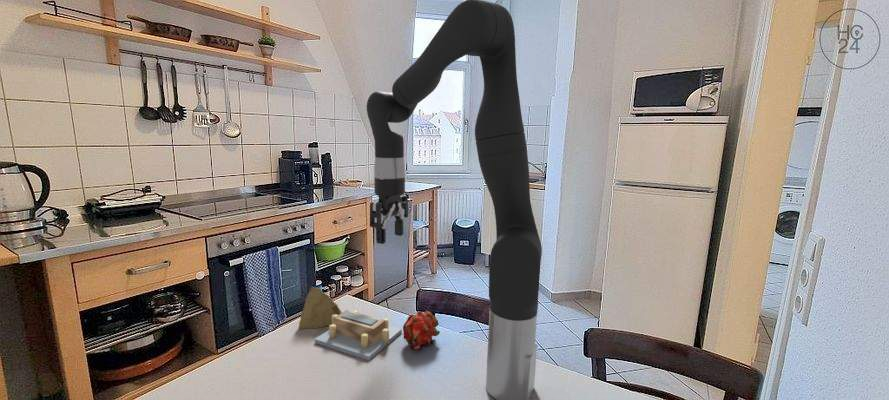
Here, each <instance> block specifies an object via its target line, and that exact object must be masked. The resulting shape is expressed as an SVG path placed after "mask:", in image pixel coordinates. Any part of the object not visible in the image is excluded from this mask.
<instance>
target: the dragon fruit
mask: <svg viewBox="0 0 889 400" xmlns="http://www.w3.org/2000/svg"><path fill="white" fill-rule="evenodd" d="M438 326H439V321H438V319H437V317H436V316H435V315H434V314H432V312H431V311H428V310H426V311H424V312H422V311H419V310H417V312H416V314H414V315H413V314H410V315H408V317H407V318H406V321H405V323H404V324H403V326H402V331H403V340H405V341H406V343H407V344H408V345H409V347H410V351H413V349H414V350H420V349H422V348H423V347H424V346H423V345H426V346H427V347H429V346H433V345H434V344H435V343H436V341H437V340H436V339H435V338H434V339H433V337H437V336H439V335H440V333H441V332H440V330H438V329H437V327H438Z"/></svg>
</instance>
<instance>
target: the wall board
mask: <svg viewBox="0 0 889 400" xmlns="http://www.w3.org/2000/svg"><path fill="white" fill-rule="evenodd" d="M352 311H353V312H356V313H359V311H358V310H356V309H355V310H352ZM336 316H338V315H337V314H335V315H332V324H331V325H328V330H327V331H325V332H323V333H322V334H320V335H319V336H317V337H316V338H315V339H314V343H315V344H317V345H321V346H324V347H326V348H329V349H333V350H336V351H339V352H342V353H345V354H348V355H350V356H354V357H357V358H359V359H363V360H366V361H370V360H372V358H374V357H375V356H376V355H378V353H380V352H381V351H382V350H383V349H384V348H386V347H387V346H389V344H390V343H391V342H392V341H394V340H395V339H396V338H397V337H398V336H399V335H401V334H402V331H403V328H399V327H394V326H392V325H389V318H386V317H385V318H382V319H383V320H385V329H383V330H382V338H381V339H380V340H379V341H378V342H376V343H375V344H374V345H373V344H370V343H368V334H362V335H361V341H360V340H356V339H353V338H350V337H346V336H343V335H340V334H336V325H335V324H334V317H336Z"/></svg>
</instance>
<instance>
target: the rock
mask: <svg viewBox="0 0 889 400" xmlns="http://www.w3.org/2000/svg"><path fill="white" fill-rule="evenodd" d="M341 313H343V311H341V309H340V308H339V305H338V304H337V303H336V302H335V301H334V299H332V297H330V295H328V294H326V293H325V292H324V291H322V289H320V288H319V287H317V286H315V287H314V286H311V287H310V289H309V292H308V293H307V296H306V298H305V302H304V305H303V308H302V311H301V314H300V319H299V323H298V327H297V329H298V330H303V329H308V330H309V329H318V328H319V329H320V328H323V327H327V326H328V327H329V325H331V324H332V315H335V314H337V315H339V314H341Z"/></svg>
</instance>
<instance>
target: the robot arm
mask: <svg viewBox="0 0 889 400" xmlns="http://www.w3.org/2000/svg"><path fill="white" fill-rule="evenodd" d="M514 25H515V24H514V21H513V18H512V15H511V13H510V11H508V9H507V8H506V7H505V6H503V5H501V4H498V3H495V2H491V1H487V0H463V1H461V2H459V4H457V5H456V6H455V8H453V10H452V11H451V12H450V14H449V15H448V16H447V18H446V19H445V20H444V22H443V23H442V25H441V26H440V28H439V29H438V30H437V32H436V33H435V34H434V37H433V38H432V39H431V40H430V42H429V43H428V45H427V46H426V48H425V49H424V50H423V52H422V53H421V54H420V56H419V57H418V58H417V59H416V60H415V61H414V62H413V63H412V64H411V65H410V66H409V67H408V68H407V69H406V70H404V72H403V73H402V74H400V76H399V77H398V78H397V79H396V80H395V81H394V82H393V85H392V86H391V92H388V91H387V92H386V91H374V92H372V93H370V95H369V97H368V99H367V100H366V101H367V102H366V114H367V117H368V120H369V123H370V129H371V132H372V135H373V140H374V165H373V167H374V168H373V175H374V176H373V177H374V195H375V196H377V197H378V201H377V202H375V201H374V202H370V203H369V204H370V205H369V227H370V228H374V229H375V238H376V239H375V241H376V243H377V244H380V245H384V244H386V243H387V240H386V239H387V238H386V236H387V235H386V232H387V231H386V226H387V224H388V222H389V221H390V219H391V218H393V219H394V220H395V221H394V235H395V236H399V237H401V236H403V235H404V222H405V221H406V218H408V217H409V204H408V203H409V201H408V200H409V199H408V198H409V197H408V196H407V195H405V194H406V165H405V159H404V158H405V154H404V153H405V152H404V151H405V149H404V148H405V146H404V143H405V142H404V141H405V140H404V137H403V135H402V134H401V133H399V132H394V131H392V129H391V128H390V125H389V124H390V123H391V124H392V123H395V124H399V123H404V122H405V121H407V120H408V119H409V118H410V117H411V116H412V114H413V112H414V111H415V109H416V108H417V106H418V104H419V103H420V102H423V100H424V99H426V98H427V97H428V96H429V95H431V94H432V93H433V92H434V91H435V90H436V88H437V87H438V86H439V84H440V82H441V79H442V76H443V73H444V71H445V70H446V69H447V68H448V66H450V65H451V64H453V63H454V62H456V61H458V60H459V59H461V58H463V57H465V56H471V57H479V60H480V64H481V69H482V75H483V93H482V98H481V101H480V104H479V109H478V112H477V115H476V116H477V117H476V120H475V126H474V138H475V145H476V152H477V158H478V163H479V167H480V171H481V174H482V176H483V177H482V178H483V180H484V182H485V184H486V187H487V189H488V192H489V195H490V197H491V200H492V204H493V208H494V210H493V211H494V218H495V229H496V239H495V242H494V243H493V246H492V248H491V249H490V250H491V251H490V255H489V267H488V268H489V270H488V271H489V273H488V298H489V315H488V316H489V318H488V336H487V353H486V355H487V357H486V373H485V374H486V375H485V381H486V382H485V388H486V391H487V393H488V395H489V396H491V397H492V398H493V399H494V400H530V399H531V397H532V393H533V390H535V389H534V388H535V381H536V380H535V378H536V366H537V364H536V363H537V353H538V352H537V350H538V345H537V344H536V336H537V335H536V334H537V324H538V323H537V322H538V321H537V319H538V311H539V310H538V309H539V291H540V280H541V279H540V276H541V266H542V265H541V263H542V255H543V247H542V243H541V240H540V236H539V232H538V229H537V224H536V221H535V217H534V216H535V215H534V212H533V208H532V202H531V193H530V190H531V189H530V188H531V187H530V184H531V183H530V167H529V159H528V158H529V157H528V148H527V140H526V133H525V126H524V122H523V117H522V116H523V115H522V109H521V107H522V106H521V101H520V92H519V87H518V86H519V84H518V75H517V57H516V56H517V55H516V35H515V26H514Z"/></svg>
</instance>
